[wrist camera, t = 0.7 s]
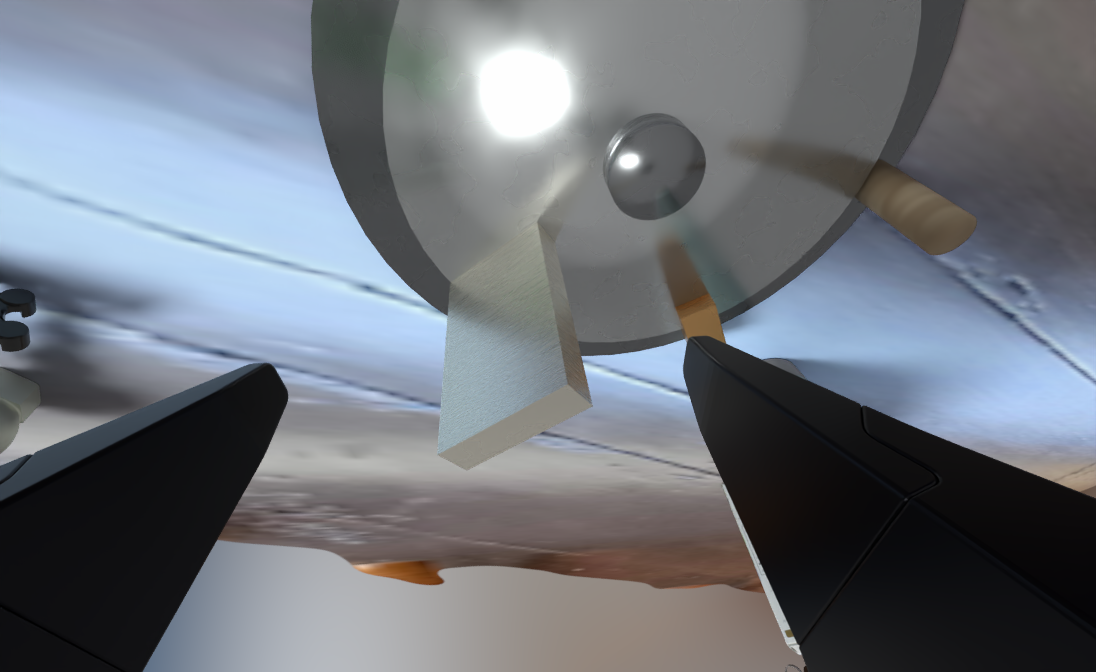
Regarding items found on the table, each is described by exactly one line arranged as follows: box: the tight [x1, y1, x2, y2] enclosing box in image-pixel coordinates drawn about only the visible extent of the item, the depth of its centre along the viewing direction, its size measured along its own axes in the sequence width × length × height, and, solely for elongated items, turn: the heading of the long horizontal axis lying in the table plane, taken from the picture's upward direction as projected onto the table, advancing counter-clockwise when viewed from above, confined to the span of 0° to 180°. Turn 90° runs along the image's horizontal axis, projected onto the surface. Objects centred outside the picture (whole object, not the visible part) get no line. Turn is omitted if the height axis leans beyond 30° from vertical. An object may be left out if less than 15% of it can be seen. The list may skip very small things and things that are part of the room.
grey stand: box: [383, 0, 921, 470], centre depth 17 cm, size 22×24×11 cm
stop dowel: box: [855, 160, 977, 255], centre depth 21 cm, size 2×2×6 cm
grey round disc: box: [311, 0, 964, 356], centre depth 21 cm, size 28×28×1 cm
